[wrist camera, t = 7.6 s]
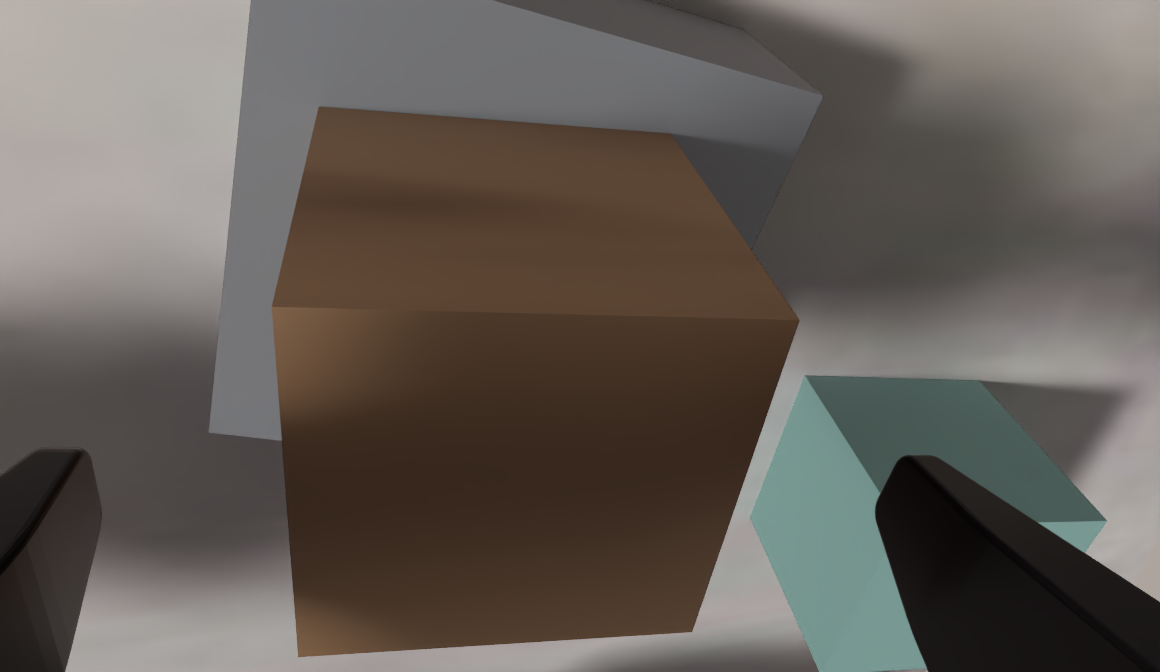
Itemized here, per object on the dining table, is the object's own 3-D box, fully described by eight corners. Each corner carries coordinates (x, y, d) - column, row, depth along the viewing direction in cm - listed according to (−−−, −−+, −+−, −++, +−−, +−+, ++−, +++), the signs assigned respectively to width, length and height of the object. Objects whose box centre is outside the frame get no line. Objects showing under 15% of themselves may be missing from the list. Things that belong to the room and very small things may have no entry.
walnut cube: (615, 396, 15) (692, 632, 11) (328, 395, 14) (298, 656, 10) (670, 133, 12) (799, 320, 8) (318, 106, 11) (272, 307, 7)
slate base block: (604, 361, 20) (642, 480, 16) (245, 305, 17) (208, 432, 14) (737, 24, 16) (824, 95, 12) (293, -112, 13) (257, -67, 10)
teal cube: (906, 513, 24) (1004, 663, 20) (749, 515, 23) (820, 674, 19) (977, 378, 22) (1107, 521, 18) (803, 373, 21) (900, 524, 17)
